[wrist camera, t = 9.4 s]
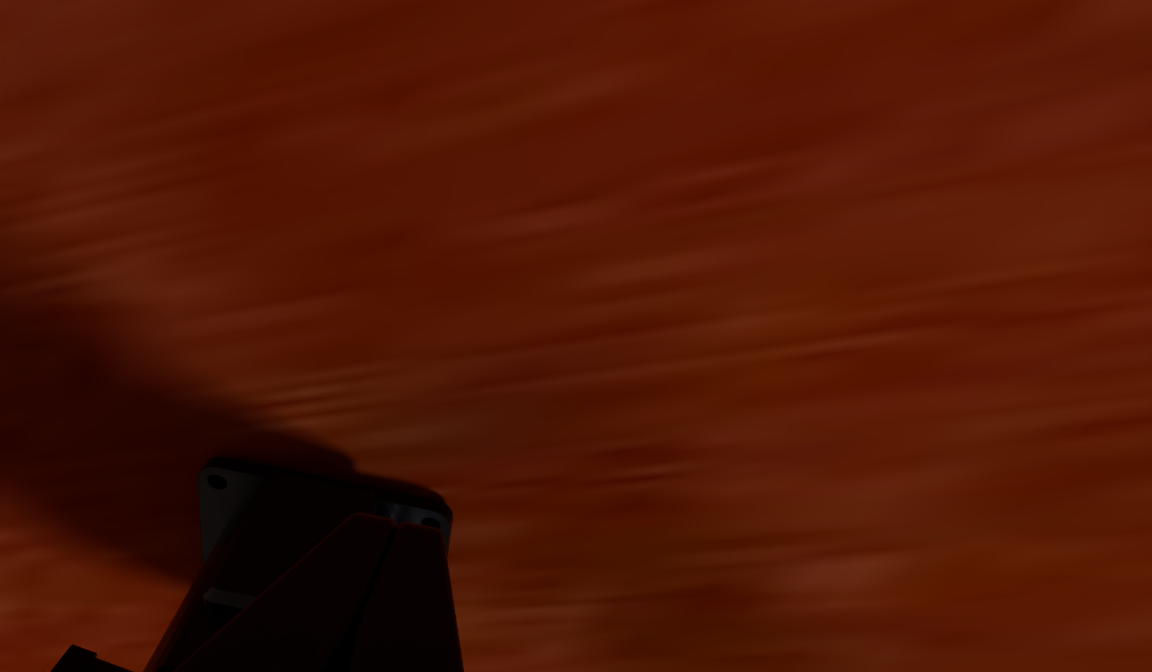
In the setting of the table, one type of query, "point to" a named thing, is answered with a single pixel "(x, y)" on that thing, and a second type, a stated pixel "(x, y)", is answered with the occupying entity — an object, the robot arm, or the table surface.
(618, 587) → the table surface
